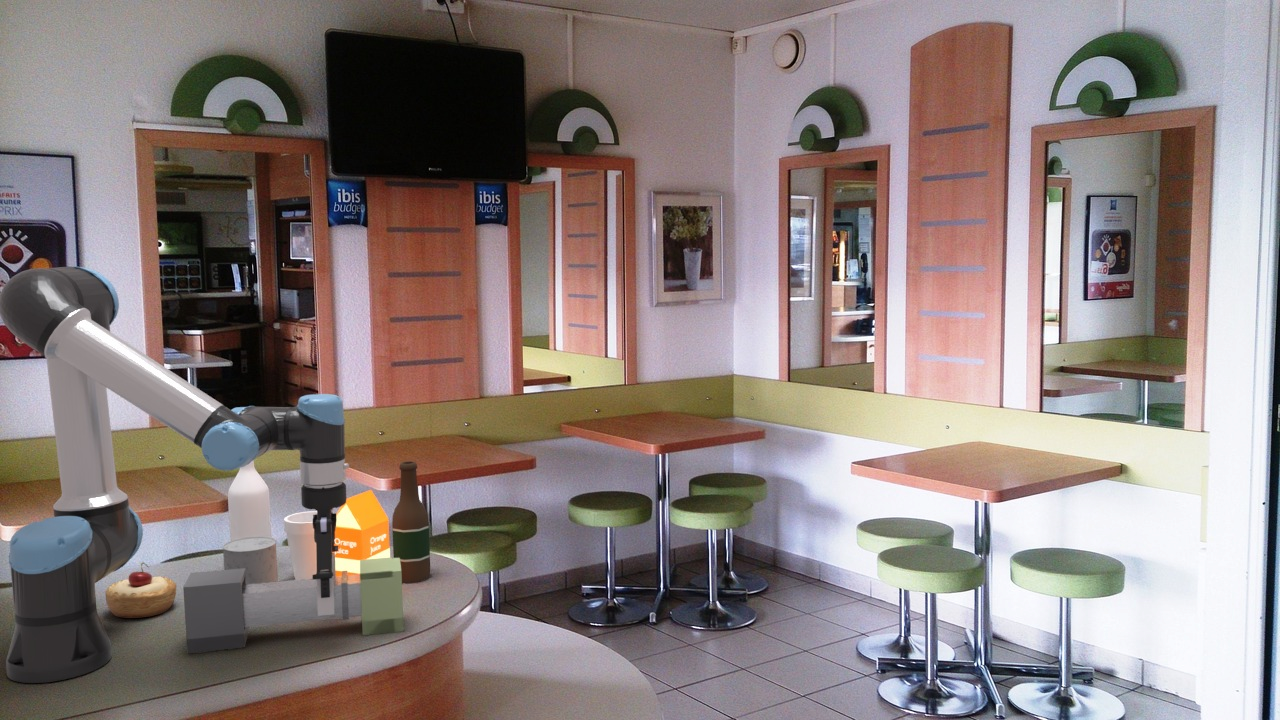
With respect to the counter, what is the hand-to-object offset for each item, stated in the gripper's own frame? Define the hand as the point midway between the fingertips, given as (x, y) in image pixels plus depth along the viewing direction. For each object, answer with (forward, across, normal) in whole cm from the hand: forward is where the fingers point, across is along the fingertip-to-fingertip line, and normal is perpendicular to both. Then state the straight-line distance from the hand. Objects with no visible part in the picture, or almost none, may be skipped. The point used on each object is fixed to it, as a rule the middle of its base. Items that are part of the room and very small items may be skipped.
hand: (327, 601), depth 185 cm
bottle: (+6, +39, +16) cm, 43 cm away
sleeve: (+6, 0, +18) cm, 19 cm away
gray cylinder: (+6, +17, +14) cm, 23 cm away
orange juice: (+6, +18, -6) cm, 20 cm away
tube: (+2, 0, +2) cm, 3 cm away
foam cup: (+6, +31, +4) cm, 32 cm away
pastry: (+6, +21, +34) cm, 40 cm away
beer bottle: (+6, +26, -16) cm, 31 cm away
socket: (+5, 0, -9) cm, 11 cm away
